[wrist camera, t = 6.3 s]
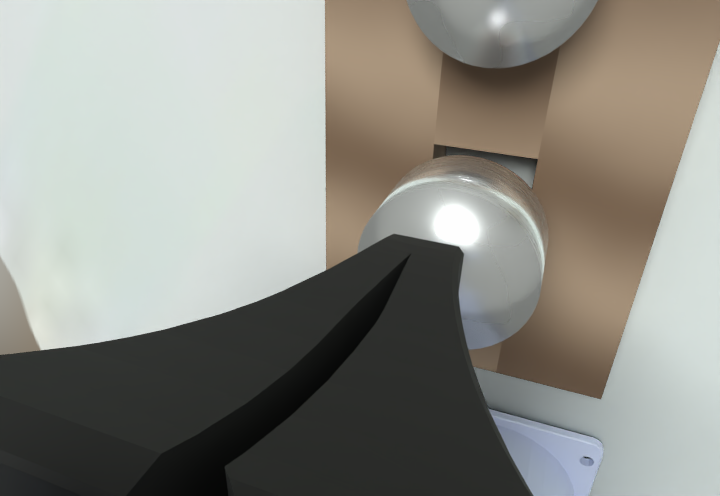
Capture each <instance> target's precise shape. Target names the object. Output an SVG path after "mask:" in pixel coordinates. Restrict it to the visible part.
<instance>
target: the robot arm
mask: <svg viewBox="0 0 720 496" xmlns="http://www.w3.org/2000/svg"><path fill="white" fill-rule="evenodd" d="M463 258H464V253H463V251H462V250H461V249H460V247H459V246H454V245H449V244H444V243H439V242H434V241H429V240H424V239H419V238H414V237H409V236H404V235H399V234H392V235H390V236H388V237H386V238H384V239H382V240H380V241H378V242H377V243H375V244H373V245H371V246H369V247H368V248H366V249H364V250H362V251H361V252H359V253H357V254H355V255H353V256H352V257H350V258H348V259H346V260H344V261H342V262H341V263H339V264H337V265H335V266H333V267H331V268H329V269H328V270H326V271H324V272H322V273H320V274H318V275H315V276H313V277H311V278H309V279H307V280H305V281H303V282H301V283H299V284H296V285H294V286H292V287H290V288H288V289H286V290H284V291H282V292H279V293H277V294H274V295H272V296H270V297H267V298H265V299H262V300H260V301H257V302H254V303H251V304H249V305H246V306H243V307H240V308H237V309H235V310H232V311H229V312H226V313H223V314H220V315H216V316H212V317H209V318H205V319H201V320H198V321H194V322H191V323H187V324H183V325H180V326H176V327H172V328H169V329H165V330H161V331H156V332H151V333H147V334H142V335H137V336H133V337H128V338H122V339H117V340H111V341H105V342H100V343H94V344H87V345H81V346H74V347H66V348H58V349H49V350H41V351H33V352H24V353H16V354H7V355H0V496H589V494H590V491H591V488H592V486H593V483H594V480H595V477H596V474H597V472H598V469H599V466H600V463H601V461H602V458H603V445H602V443H601V442H600V441H599V440H598V439H595V438H593V437H590V436H586V435H582V434H579V433H575V432H571V431H568V430H564V429H561V428H557V427H553V426H550V425H546V424H542V423H539V422H535V421H531V420H528V419H524V418H520V417H517V416H513V415H509V414H506V413H502V412H499V411H495V410H491V409H488V406H487V404H486V401H485V399H484V396H483V394H482V391H481V388H480V386H479V383H478V380H477V377H476V374H475V371H474V368H473V365H472V362H471V358H470V355H469V351H468V347H467V343H466V338H465V334H464V329H463V324H462V318H461V312H460V303H459V294H458V293H459V286H460V279H461V272H462V265H463ZM584 456H585V457H590V459H587V458H584Z"/></svg>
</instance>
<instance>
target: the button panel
mask: <svg viewBox="0 0 720 496" xmlns="http://www.w3.org/2000/svg"><path fill="white" fill-rule="evenodd" d="M719 42H720V0H598V1H597V3H596V5H595V7H594V8H593V10H592V12H591V13H590V15H589V16H588V17H587V19H586V20H585V22H584V23H583V24H582V25H581V26H580V28H579V29H578V30H577V31H576V32H575V33H574V34H573V35H572V36H571V37H570V38H569V39H568V40H566V41H565V42H564V43H563V44H562V45H561V46H559V47H558V48H556V49H555V50H553V51H552V52H550V53H549V54H547V55H545V56H543V57H541V58H539V59H537V60H534V61H531V62H529V63H526V64H523V65H518V66H514V67H508V68H483V67H477V66H473V65H469V64H466V63H463V62H461V61H458V60H456V59H454V58H452V57H450V56H449V55H447V54H446V53H444V52H443V51H441V50H440V49H439V48H438V47H436V46H435V45H434V44H433V43H432V42H431V41H430V40H429V39H428V38H427V37H426V35H425V34H424V33H423V32H422V30H421V29H420V27H419V26H418V24H417V23H416V21H415V19H414V17H413V15H412V13H411V11H410V9H409V6H408V3H407V0H325V94H326V270H328V269H329V268H331V267H333V266H335V265H337V264H339V263H341V262H342V261H344V260H346V259H348V258H350V257H352V256H353V255H355V254H357V252H358V245H359V241H360V237H361V235H362V232H363V230H364V228H365V226H366V224H367V223H368V221H369V220H370V218H371V217H372V216H373V214H374V213H375V212H376V211H377V209H378V208H379V207H380V205H381V204H382V203H383V202H384V200H385V199H386V198H387V196H388V195H389V194H390V193H391V191H392V190H393V189H394V187H395V186H396V185H397V184H398V182H399V181H400V180H401V179H402V178H403V177H404V176H405V175H406V174H407V173H408V172H410V171H411V170H412V169H414V168H415V167H417V166H418V165H420V164H422V163H425V162H427V161H429V160H432V159H435V158H439V157H444V156H445V153H446V146H451V147H458V148H465V149H472V150H479V151H486V152H493V153H499V154H506V155H513V156H520V157H527V158H534V159H538V161H537V166H536V171H535V176H534V182H533V187H532V190H533V192H534V193H535V195H536V196H537V198H538V199H539V201H540V203H541V205H542V207H543V210H544V213H545V216H546V219H547V224H548V247H547V253H546V260H545V266H544V272H543V279H542V285H541V292H540V297H539V300H538V303H537V306H536V308H535V310H534V312H533V314H532V315H531V317H530V318H529V320H528V321H527V322H526V324H525V325H524V326H523V327H522V328H521V329H520V330H519V331H517V332H516V333H515V334H513V335H512V336H511V337H509V338H507V339H505V340H503V341H502V342H499V343H497V344H494V345H492V346H488V347H484V348H480V349H473V350H468V351H469V355H470V358H471V362H472V365H473V367H477V368H481V369H485V370H489V371H493V372H496V373H500V374H504V375H508V376H512V377H516V378H520V379H524V380H528V381H532V382H536V383H540V384H543V385H547V386H551V387H555V388H559V389H563V390H567V391H571V392H575V393H579V394H583V395H587V396H590V397H594V398H598V399H601V398H602V395H603V392H604V389H605V386H606V382H607V379H608V376H609V373H610V370H611V367H612V364H613V361H614V358H615V355H616V352H617V349H618V346H619V343H620V340H621V337H622V334H623V331H624V328H625V325H626V322H627V319H628V316H629V313H630V310H631V307H632V304H633V301H634V298H635V295H636V292H637V289H638V286H639V283H640V280H641V277H642V274H643V271H644V268H645V265H646V262H647V259H648V256H649V253H650V250H651V247H652V244H653V241H654V238H655V235H656V232H657V229H658V226H659V223H660V220H661V217H662V214H663V210H664V207H665V204H666V201H667V198H668V195H669V192H670V189H671V186H672V183H673V180H674V177H675V174H676V171H677V168H678V165H679V162H680V159H681V156H682V153H683V150H684V147H685V144H686V141H687V138H688V135H689V132H690V129H691V126H692V123H693V120H694V117H695V114H696V111H697V108H698V105H699V102H700V99H701V96H702V93H703V90H704V87H705V84H706V81H707V78H708V75H709V72H710V69H711V66H712V63H713V60H714V57H715V54H716V51H717V48H718V45H719Z"/></svg>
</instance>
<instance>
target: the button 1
mask: <svg viewBox="0 0 720 496" xmlns="http://www.w3.org/2000/svg"><path fill="white" fill-rule="evenodd" d="M392 234H399V235H404V236H409V237H414V238H419V239H424V240H429V241H434V242H439V243H444V244H449V245H454V246H459V247H460V249H461V250H462V251H463V253H464V258H463V265H462V272H461V279H460V286H459V293H458V294H459V303H460V312H461V318H462V324H463V329H464V334H465V338H466V343H467V347H468V350H473V349H480V348H484V347H488V346H492V345H494V344H497V343H499V342H502V341H503V340H505V339H507V338H509V337H511V336H512V335H513V334H515V333H516V332H517V331H519V330H520V329H521V328H522V327H523V326H524V325H525V324H526V322H527V321H528V320H529V318H530V317H531V315H532V314H533V312H534V310H535V308H536V306H537V303H538V300H539V297H540V292H541V285H542V279H543V272H544V266H545V260H546V253H547V247H548V224H547V219H546V216H545V213H544V210H543V207H542V205H541V203H540V201H539V199H538V198H537V196H536V195H535V193H534V192H533V190H532V189H531V188H530V187H529V186H528V185H527V184H526V183H525V181H523V180H522V179H521V178H520V177H519V176H518V175H516V174H515V173H514V172H512V171H510V170H509V169H507V168H506V167H504V166H502V165H500V164H498V163H496V162H493V161H490V160H487V159H484V158H480V157H475V156H466V155H451V156H444V157H439V158H435V159H432V160H429V161H427V162H425V163H422V164H420V165H418V166H417V167H415V168H414V169H412V170H411V171H410V172H408V173H407V174H406V175H405V176H404V177H403V178H402V179H401V180H400V181H399V182H398V184H397V185H396V186H395V187H394V189H393V190H392V191H391V193H390V194H389V195H388V196H387V198H386V199H385V200H384V202H383V203H382V204H381V205H380V207H379V208H378V209H377V211H376V212H375V213H374V214H373V216H372V217H371V218H370V220H369V221H368V223H367V224H366V226H365V228H364V230H363V232H362V235H361V237H360V241H359V245H358V252H357V253H359V252H361V251H362V250H364V249H366V248H368V247H369V246H371V245H373V244H375V243H377V242H378V241H380V240H382V239H384V238H386V237H388V236H390V235H392Z"/></svg>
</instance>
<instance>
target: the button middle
mask: <svg viewBox="0 0 720 496" xmlns="http://www.w3.org/2000/svg"><path fill="white" fill-rule="evenodd" d="M597 1H598V0H407V3H408V6H409V9H410V11H411V13H412V15H413V17H414V19H415V21H416V23H417V24H418V26H419V27H420V29H421V30H422V32H423V33H424V34H425V35H426V37H427V38H428V39H429V40H430V41H431V42H432V43H433V44H434V45H435V46H436V47H438V48H439V49H440V50H441V51H443V52H444V53H446V54H447V55H449V56H450V57H452V58H454V59H456V60H458V61H461V62H463V63H466V64H469V65H473V66H477V67H483V68H508V67H514V66H518V65H523V64H526V63H529V62H531V61H534V60H537V59H539V58H541V57H543V56H545V55H547V54H549V53H550V52H552V51H553V50H555V49H556V48H558V47H559V46H561V45H562V44H563V43H564V42H565V41H566V40H568V39H569V38H570V37H571V36H572V35H573V34H574V33H575V32H576V31H577V30H578V29H579V28H580V26H581V25H582V24H583V23H584V22H585V20H586V19H587V17H588V16H589V15H590V13H591V12H592V10H593V8H594V7H595V5H596V3H597Z"/></svg>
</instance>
